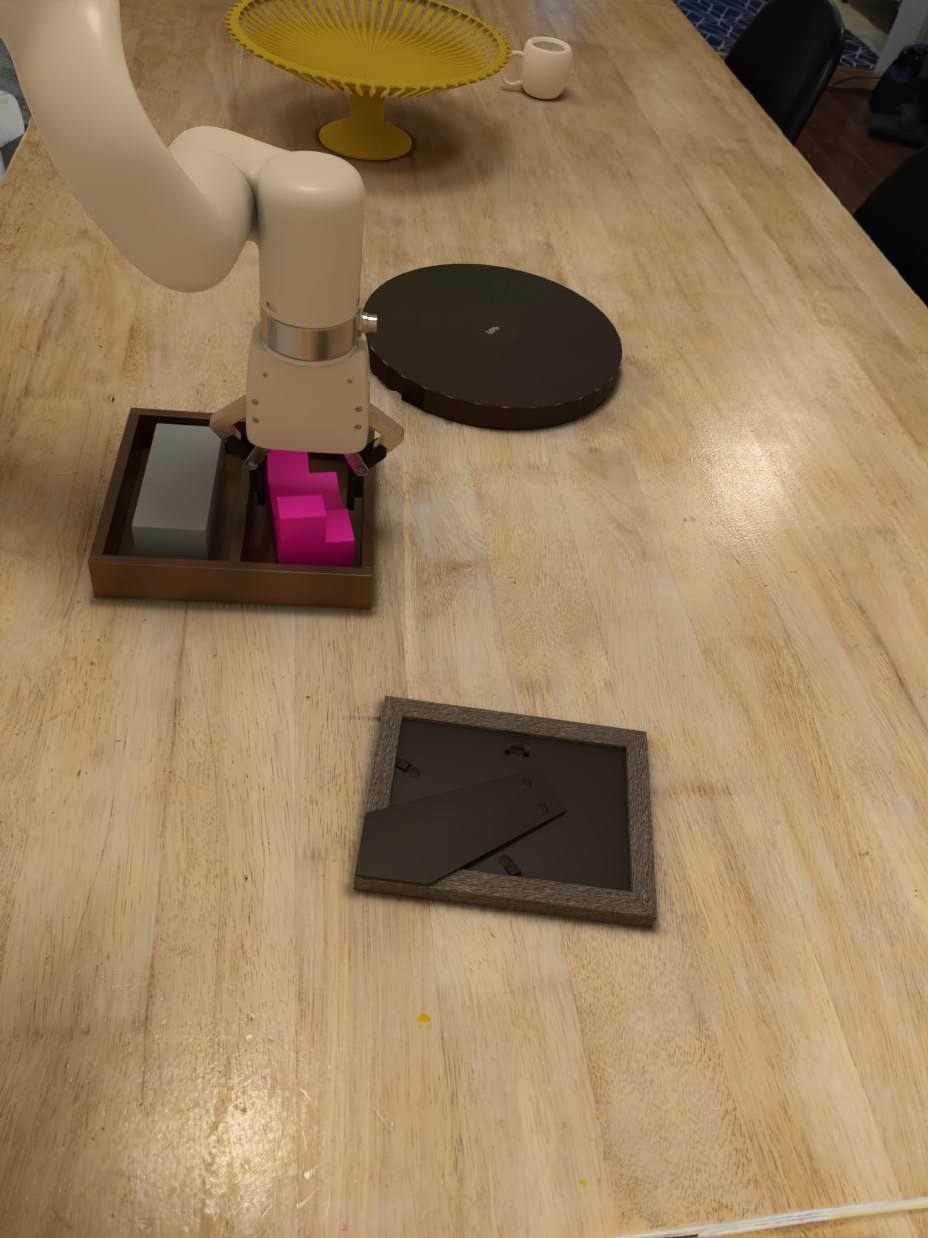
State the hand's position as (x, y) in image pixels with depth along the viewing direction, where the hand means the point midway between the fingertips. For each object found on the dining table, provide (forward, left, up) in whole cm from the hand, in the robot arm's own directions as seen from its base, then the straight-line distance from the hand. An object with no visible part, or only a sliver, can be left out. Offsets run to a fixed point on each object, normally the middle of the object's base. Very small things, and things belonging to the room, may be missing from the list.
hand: (307, 496), depth 92 cm
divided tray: (-5, 0, -4) cm, 7 cm away
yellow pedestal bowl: (+5, +87, -4) cm, 87 cm away
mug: (+33, +113, -4) cm, 118 cm away
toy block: (0, 0, -3) cm, 3 cm away
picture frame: (+17, -30, -4) cm, 34 cm away
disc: (+20, +32, -4) cm, 38 cm away
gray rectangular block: (-11, 0, -3) cm, 11 cm away
